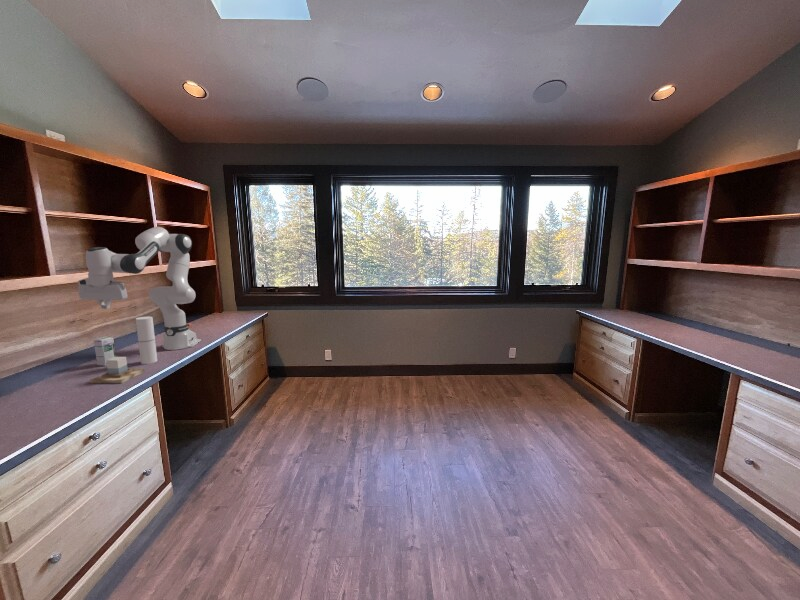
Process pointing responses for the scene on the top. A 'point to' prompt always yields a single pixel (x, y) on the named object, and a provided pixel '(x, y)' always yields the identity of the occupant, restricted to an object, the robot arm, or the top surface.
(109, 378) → the base plate
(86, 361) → the top surface
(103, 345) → the syrup box
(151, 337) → the cylindrical container
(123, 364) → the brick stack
